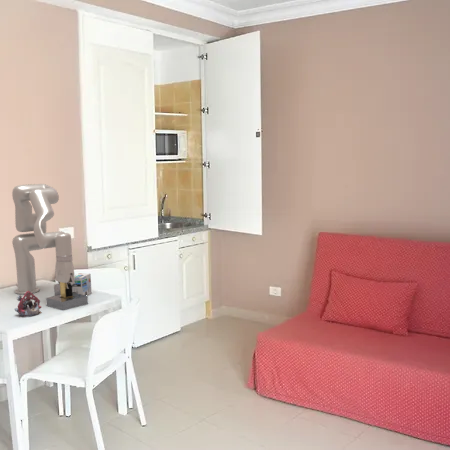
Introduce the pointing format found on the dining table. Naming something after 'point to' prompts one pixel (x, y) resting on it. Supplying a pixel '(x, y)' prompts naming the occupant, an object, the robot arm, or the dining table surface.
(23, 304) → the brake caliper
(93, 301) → the dining table surface
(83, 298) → the bore block
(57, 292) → the round bit
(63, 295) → the square bit
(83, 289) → the light bulb box
